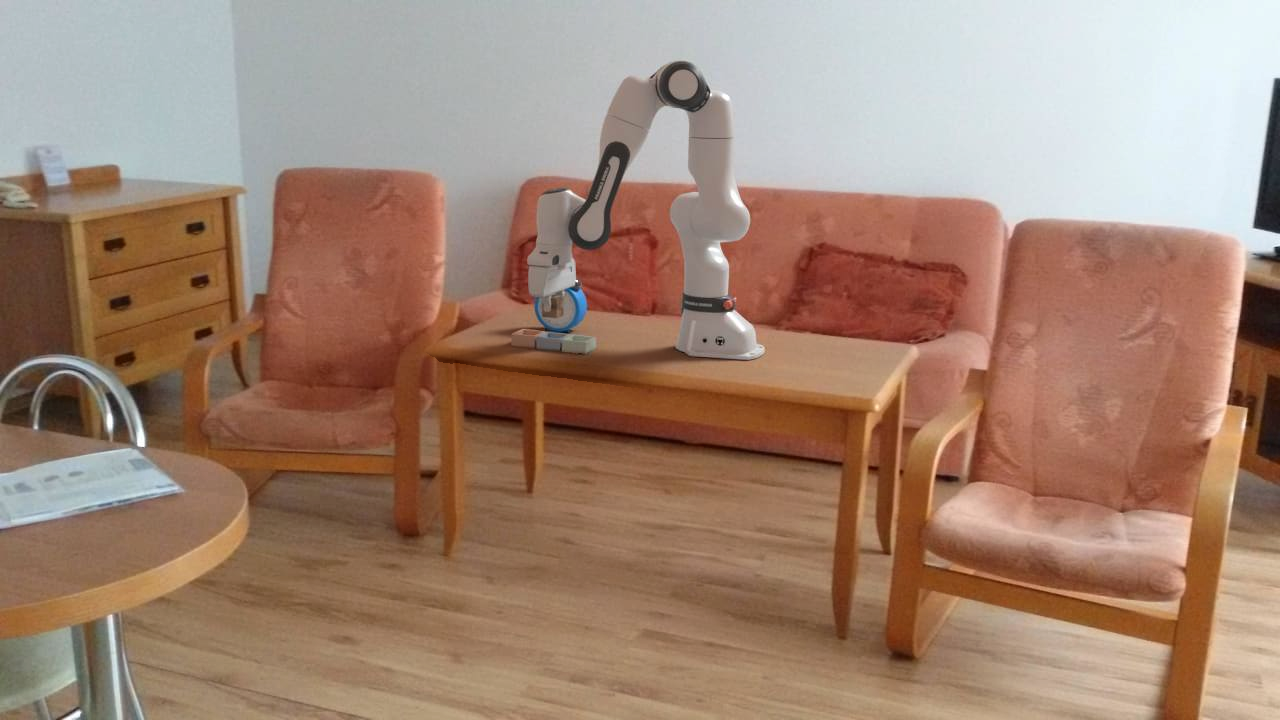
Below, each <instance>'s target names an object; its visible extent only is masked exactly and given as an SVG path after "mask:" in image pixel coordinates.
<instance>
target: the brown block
mask: <svg viewBox="0 0 1280 720" xmlns="http://www.w3.org/2000/svg"><path fill="white" fill-rule="evenodd" d="M550 299H551V304H553V307H552V308H553V310H552V311H550V312H545V311H544V304H543V301H542V317H549V318H559V317H561V316H564V296H559V295H552V296H551V298H550Z"/></svg>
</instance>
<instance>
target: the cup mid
mask: <svg viewBox="0 0 1280 720" xmlns="http://www.w3.org/2000/svg"><path fill="white" fill-rule="evenodd" d="M569 336H571V334H570V333H562V332H555V331H546V333H544V334H542V335H539V336H537V347H536V349H538V350H547V351H554V352H562V340H563V339H565V338H567V337H569Z"/></svg>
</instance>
